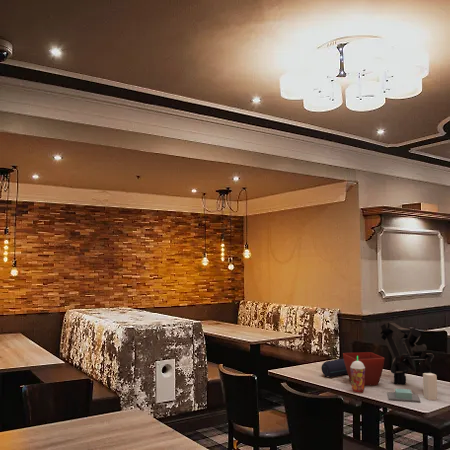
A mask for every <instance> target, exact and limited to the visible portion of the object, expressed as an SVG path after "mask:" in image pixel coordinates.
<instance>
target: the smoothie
mask: <svg viewBox="0 0 450 450" xmlns="http://www.w3.org/2000/svg"><path fill="white" fill-rule="evenodd" d="M350 370H351V381H350V382H351V389H352V391H353V392H354V393H359V394H361V393H363V392H364V391H365V386H364V382H365V367H364V364H363V363H362V362H361V361H358V356H357V361H354V362H353V363H352V364H351V366H350Z"/></svg>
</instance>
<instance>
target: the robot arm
mask: <svg viewBox="0 0 450 450" xmlns="http://www.w3.org/2000/svg"><path fill="white" fill-rule="evenodd" d="M377 333H378V335H379V336H380V338H381V339H382V340H383V341H384V342H385V344H386V345H387V349H388V350H389V354H390V356H391V358H392V366H391V368H390V373H392V375H393V384H394V385H404V386H405V385H406V384H407V376H406V374H408V372H409V369H411V371H412V372H414V373H416V368H415V366H414V364H413V361H421V360H422V361H423V362H424V363H423V364H424V366H425V367H426V368H427V370H428V371H429V372H431V371H432V367H431V363H432V361H433V359H434V358H435V355H434V354H433V352H432V353H430V352H427V353H425V354H424V355H423V352H425V351H427V350H428V348H427V345H426V344H425V343H422V344H420V345H418V344H416V343H417V342H418V341H419V340H420V337H421V336H422V333H421V331H419V330H418V329H417V328H415V327H411V328H405V327H402V326H400V325H399V324H397V323H395V322H394V321H387V322H385V323H384V324H382V325H380V327H379V328H378V330H377ZM394 333H396V334H397V337H398V339H400V340H403V343H402V346H403V347H404V346H405V349H406V350H407V351H406V353H402V354H400V352H399V349H398V347H397V345H396V342H395V340H394V337H393V335H394Z"/></svg>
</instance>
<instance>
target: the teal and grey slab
mask: <svg viewBox="0 0 450 450" xmlns="http://www.w3.org/2000/svg"><path fill="white" fill-rule="evenodd" d="M387 400H388V401H391V402H393V401H394V402H395V401H396V402H404V403H405V402H407V403H418V404H419V403H420V404H421V399H420V396H419V394H418V393H413V392H412V389H408V388H407V389H406V388H395V389H394V391H387Z"/></svg>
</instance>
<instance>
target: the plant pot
mask: <svg viewBox="0 0 450 450" xmlns="http://www.w3.org/2000/svg"><path fill="white" fill-rule="evenodd" d="M342 356H343V358H344V362H345V366H346V370H347V373H348V374H347V376H348V378H349V381H350V382H351V370H350V366H351V364H352V363H353V362H354V361H357V356H358V361H361V362H362V363H363V364H364V367H365V382H364V387H367V386H378V385H379V383H380V380H381V378H382V374H383V370H384V364H385V357H383V356H381V355H379V354H376V353H374V352H369V351H365V352H343V353H342ZM343 358H342V359H343Z"/></svg>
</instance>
